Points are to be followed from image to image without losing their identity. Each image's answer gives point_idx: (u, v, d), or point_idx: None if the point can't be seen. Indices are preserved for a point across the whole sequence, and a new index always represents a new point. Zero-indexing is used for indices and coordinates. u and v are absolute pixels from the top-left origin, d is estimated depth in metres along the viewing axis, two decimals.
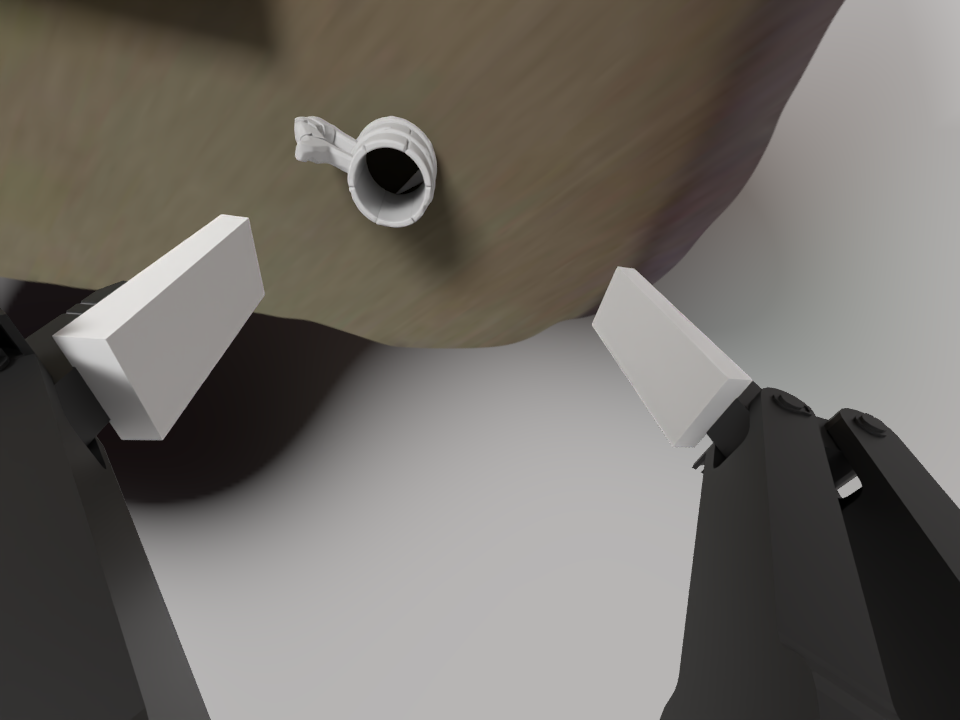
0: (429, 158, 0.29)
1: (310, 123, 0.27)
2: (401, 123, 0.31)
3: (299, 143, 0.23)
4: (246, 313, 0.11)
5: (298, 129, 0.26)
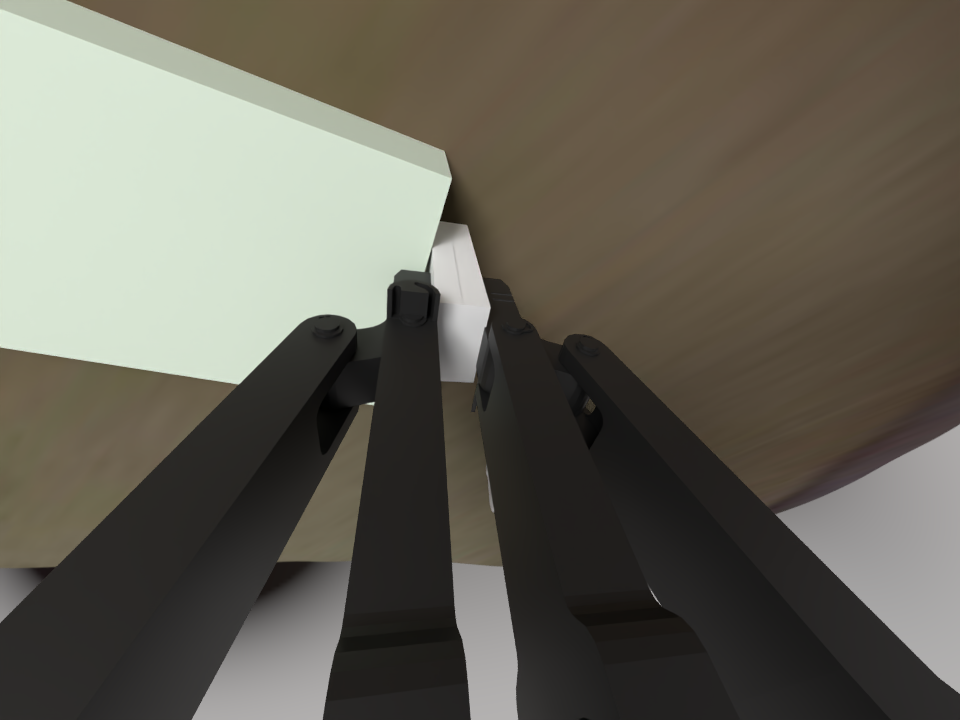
0: None
1: None
2: None
3: None
4: None
5: None
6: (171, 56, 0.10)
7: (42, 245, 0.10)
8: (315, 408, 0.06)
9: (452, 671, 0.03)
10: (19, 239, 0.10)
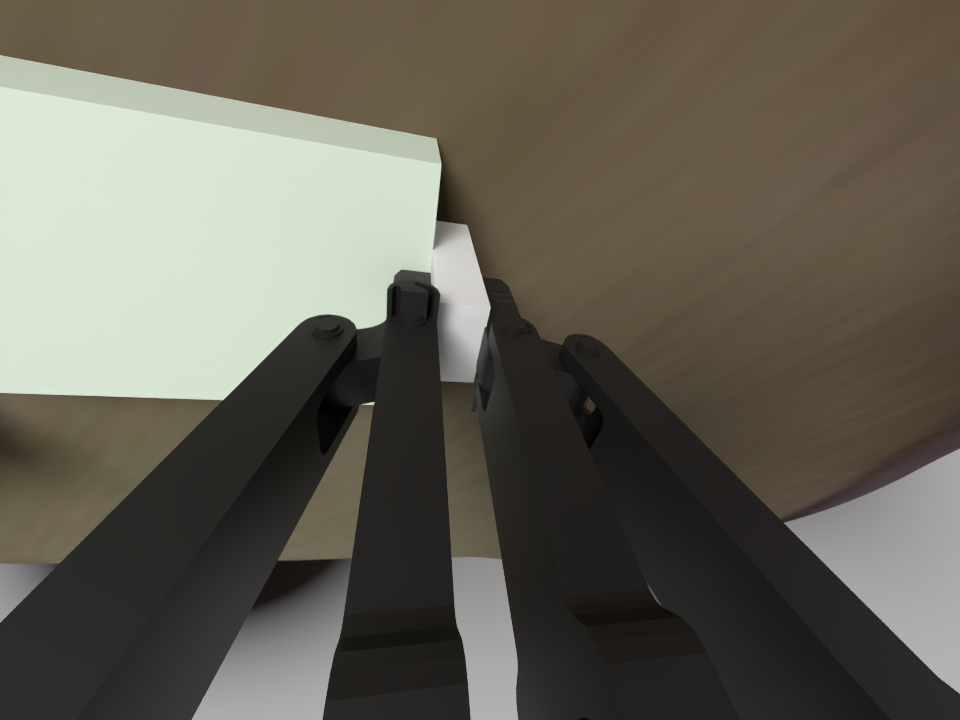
0: None
1: None
2: None
3: None
4: None
5: None
6: (162, 99, 0.10)
7: (86, 299, 0.11)
8: (315, 409, 0.06)
9: (452, 671, 0.03)
10: (68, 296, 0.11)
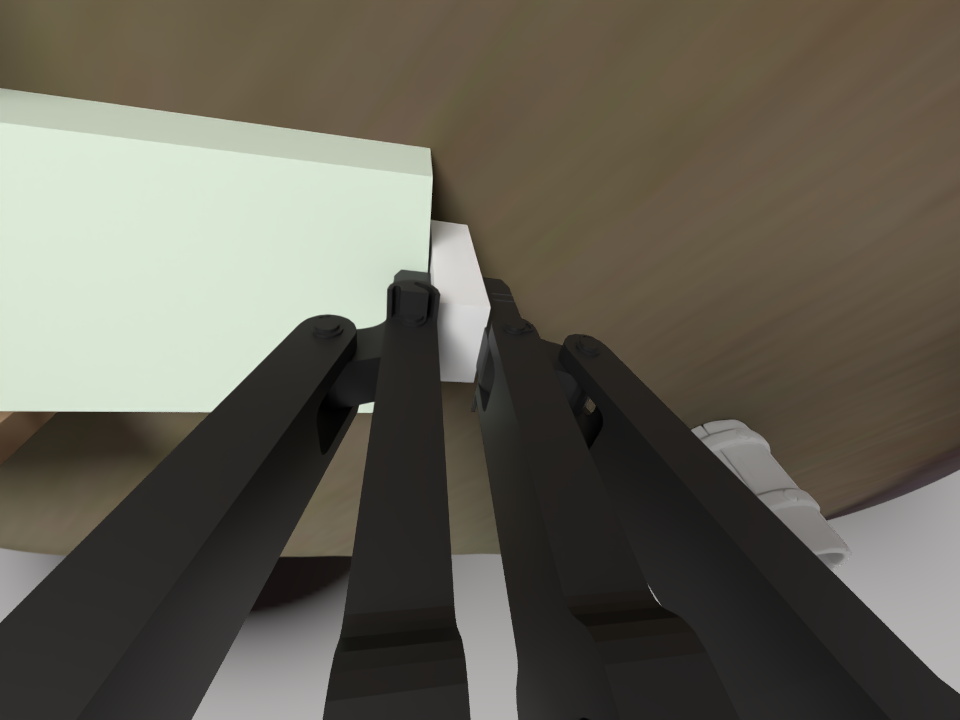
0: None
1: None
2: (755, 443, 0.26)
3: None
4: None
5: None
6: (162, 126, 0.10)
7: (98, 319, 0.12)
8: (315, 408, 0.06)
9: (452, 671, 0.03)
10: (80, 317, 0.12)
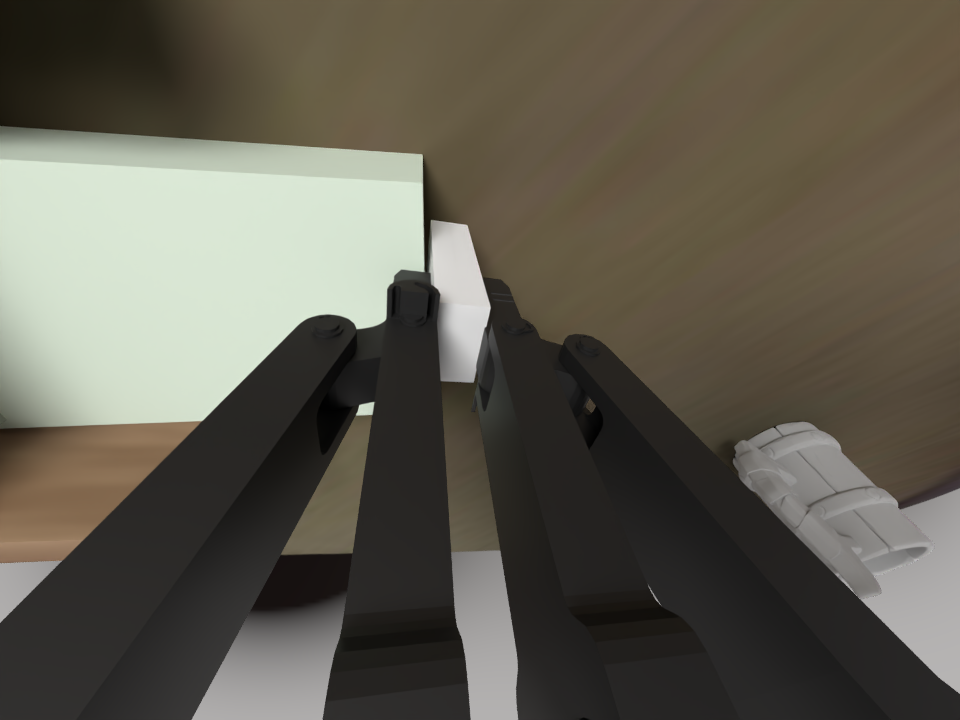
0: None
1: (793, 493, 0.24)
2: (829, 444, 0.28)
3: (879, 592, 0.20)
4: None
5: (811, 524, 0.23)
6: (166, 151, 0.11)
7: (118, 338, 0.12)
8: (315, 408, 0.06)
9: (452, 671, 0.03)
10: (102, 337, 0.12)
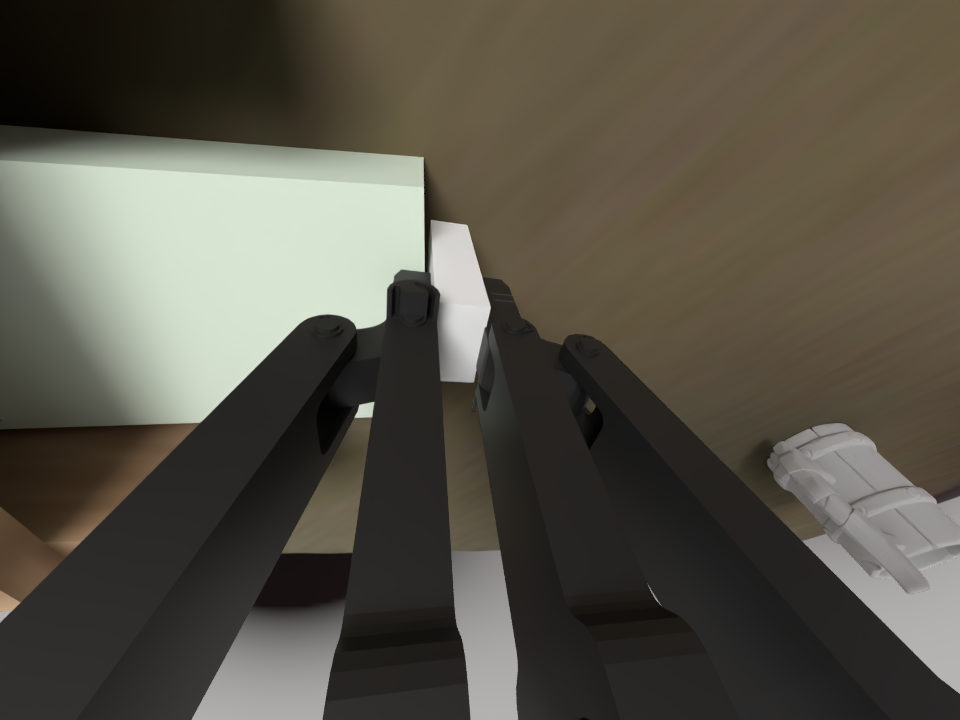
0: None
1: (837, 493, 0.25)
2: (866, 444, 0.29)
3: (928, 588, 0.21)
4: None
5: (856, 523, 0.23)
6: (166, 153, 0.11)
7: (116, 339, 0.12)
8: (315, 408, 0.06)
9: (452, 671, 0.03)
10: (99, 338, 0.12)
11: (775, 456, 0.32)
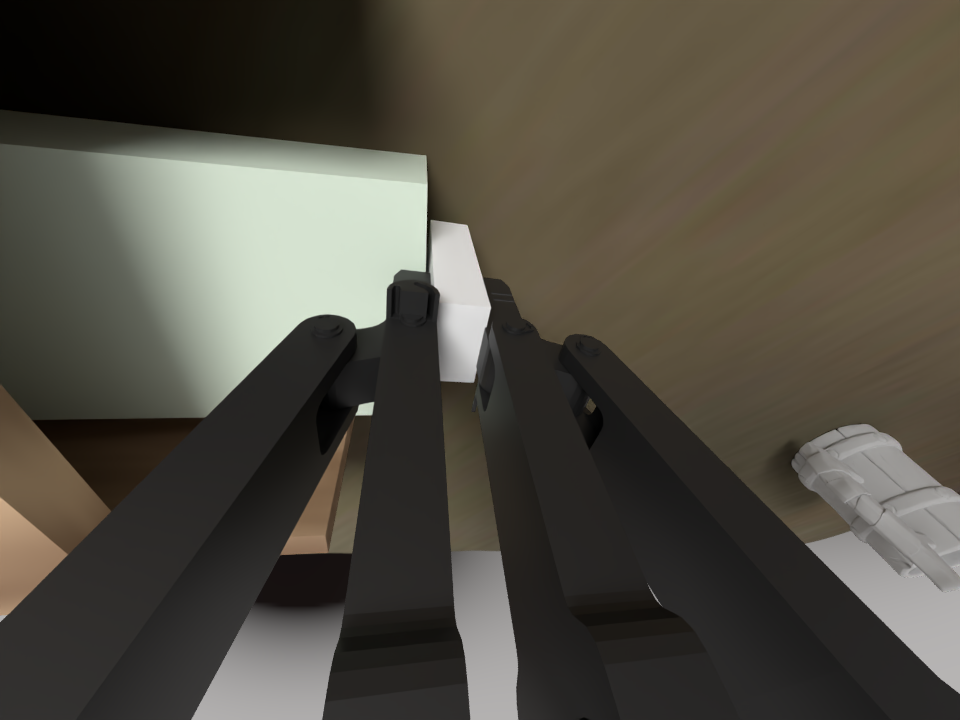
0: None
1: (867, 493, 0.25)
2: (892, 445, 0.29)
3: None
4: None
5: (889, 522, 0.24)
6: (165, 142, 0.11)
7: (108, 330, 0.12)
8: (314, 408, 0.06)
9: (451, 671, 0.03)
10: (91, 329, 0.12)
11: (800, 457, 0.32)
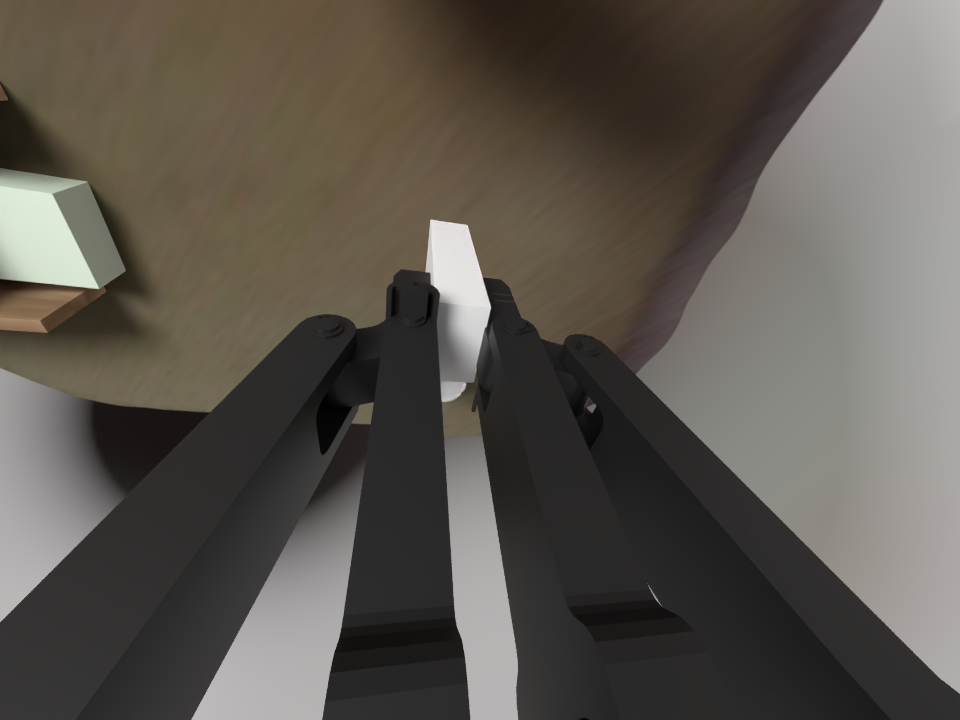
0: None
1: None
2: None
3: None
4: None
5: None
6: None
7: None
8: (314, 408, 0.06)
9: (451, 671, 0.03)
10: None
11: None
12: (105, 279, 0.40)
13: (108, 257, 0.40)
